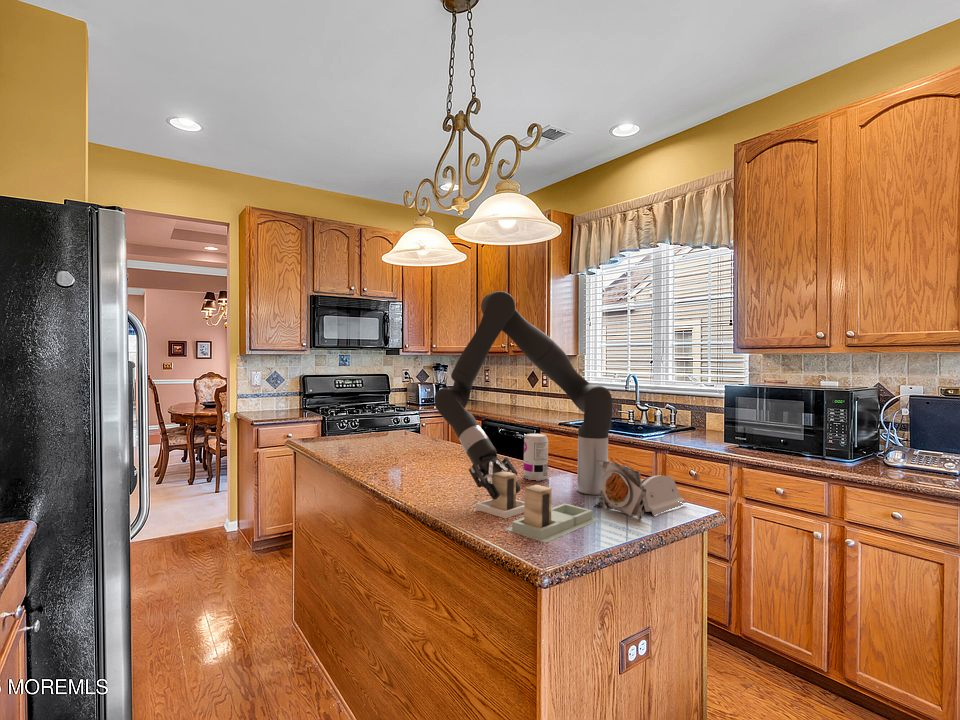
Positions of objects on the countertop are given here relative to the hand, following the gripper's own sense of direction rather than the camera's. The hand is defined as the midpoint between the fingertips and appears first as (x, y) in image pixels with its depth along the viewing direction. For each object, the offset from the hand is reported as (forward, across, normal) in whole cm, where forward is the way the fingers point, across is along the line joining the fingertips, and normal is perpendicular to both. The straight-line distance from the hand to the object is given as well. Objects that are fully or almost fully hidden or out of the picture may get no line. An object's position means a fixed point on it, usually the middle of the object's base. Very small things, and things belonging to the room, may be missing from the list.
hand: (507, 494), depth 133 cm
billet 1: (+2, 0, +4) cm, 5 cm away
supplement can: (-10, +37, +17) cm, 42 cm away
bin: (+3, 0, +5) cm, 5 cm away
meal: (+18, +23, -10) cm, 31 cm away
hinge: (+22, +36, -14) cm, 44 cm away
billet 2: (+13, -6, -8) cm, 17 cm away
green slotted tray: (+14, 0, -7) cm, 16 cm away
